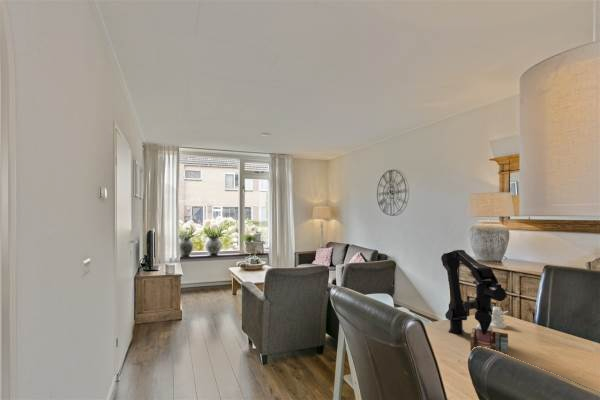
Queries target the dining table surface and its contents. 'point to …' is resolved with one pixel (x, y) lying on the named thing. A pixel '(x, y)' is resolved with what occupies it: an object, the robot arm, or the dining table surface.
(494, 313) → the figurine
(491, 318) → the robot arm
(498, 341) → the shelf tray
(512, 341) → the dining table surface
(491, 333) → the pill bottle
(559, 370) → the dining table surface
